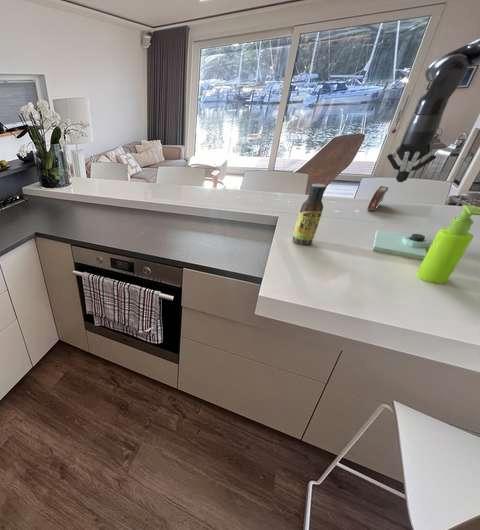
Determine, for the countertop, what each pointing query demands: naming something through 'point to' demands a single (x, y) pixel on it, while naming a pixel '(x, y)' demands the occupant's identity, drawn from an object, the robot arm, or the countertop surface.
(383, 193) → the tin
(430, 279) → the soap dispenser
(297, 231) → the sauce bottle
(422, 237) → the tare button
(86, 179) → the countertop surface
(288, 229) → the countertop surface
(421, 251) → the scale
